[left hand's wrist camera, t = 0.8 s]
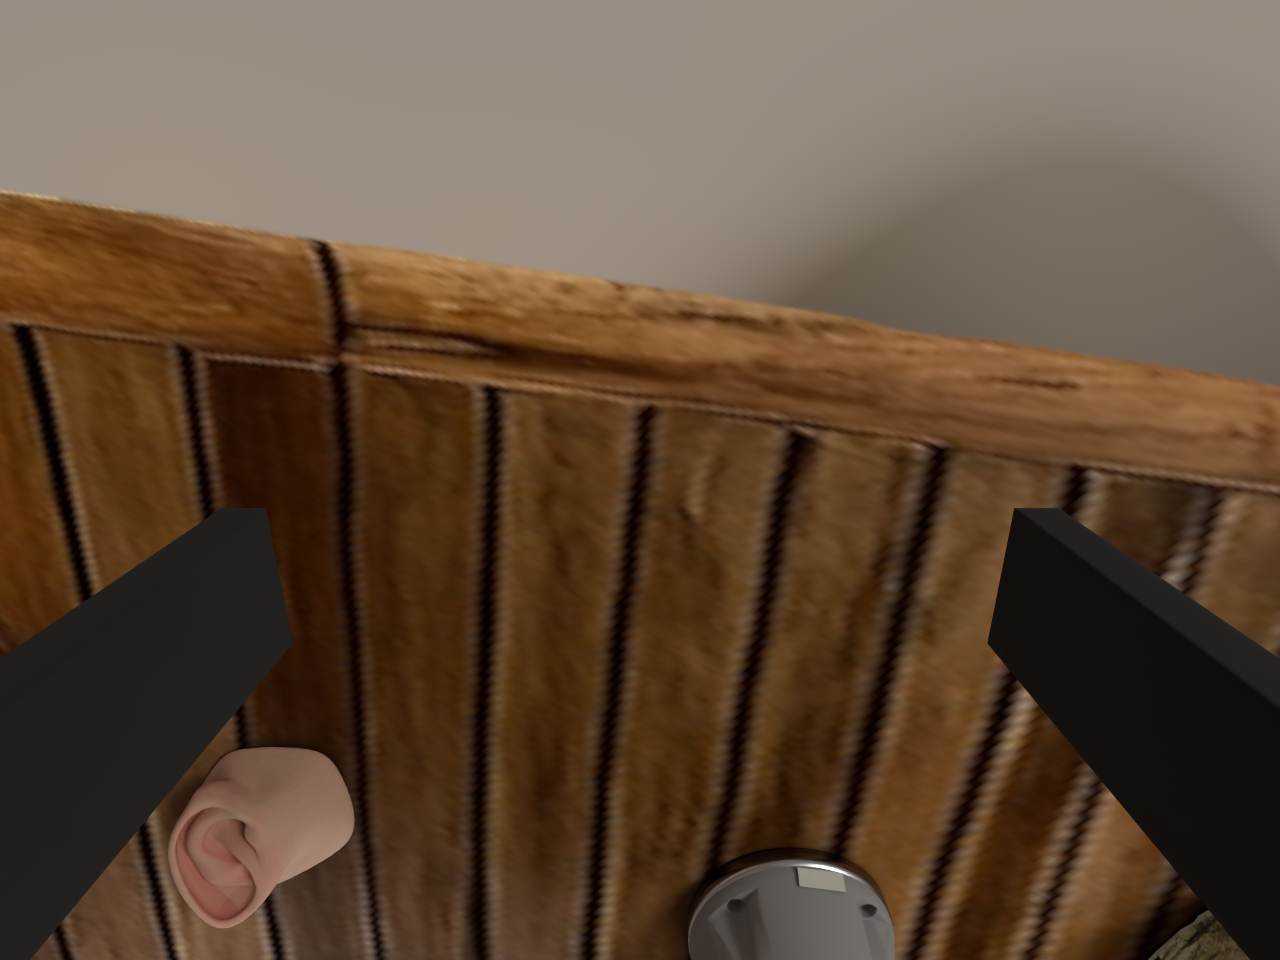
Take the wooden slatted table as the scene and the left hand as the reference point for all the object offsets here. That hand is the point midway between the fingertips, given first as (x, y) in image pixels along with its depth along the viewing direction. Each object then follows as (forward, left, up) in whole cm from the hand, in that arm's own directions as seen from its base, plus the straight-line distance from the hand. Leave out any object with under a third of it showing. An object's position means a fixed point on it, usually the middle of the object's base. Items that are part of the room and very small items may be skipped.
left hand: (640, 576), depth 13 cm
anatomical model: (-35, +25, -27) cm, 51 cm away
